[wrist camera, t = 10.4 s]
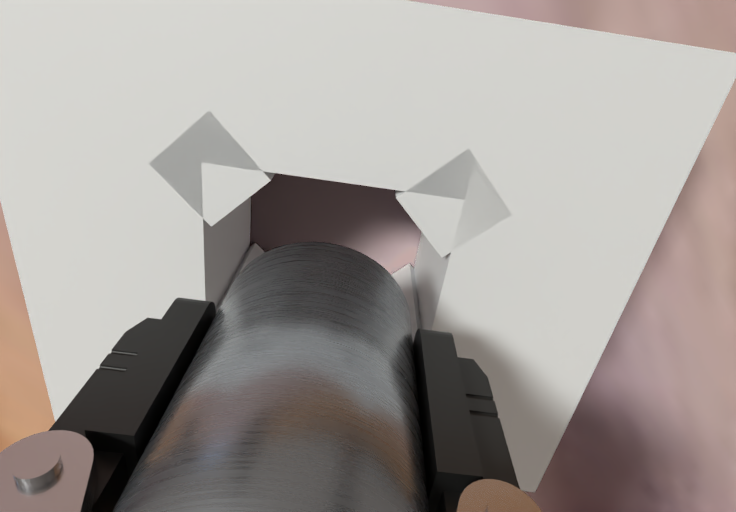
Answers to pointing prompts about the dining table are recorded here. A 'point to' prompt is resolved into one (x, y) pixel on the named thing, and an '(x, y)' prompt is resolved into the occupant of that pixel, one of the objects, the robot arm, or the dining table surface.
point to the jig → (347, 169)
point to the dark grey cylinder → (294, 397)
